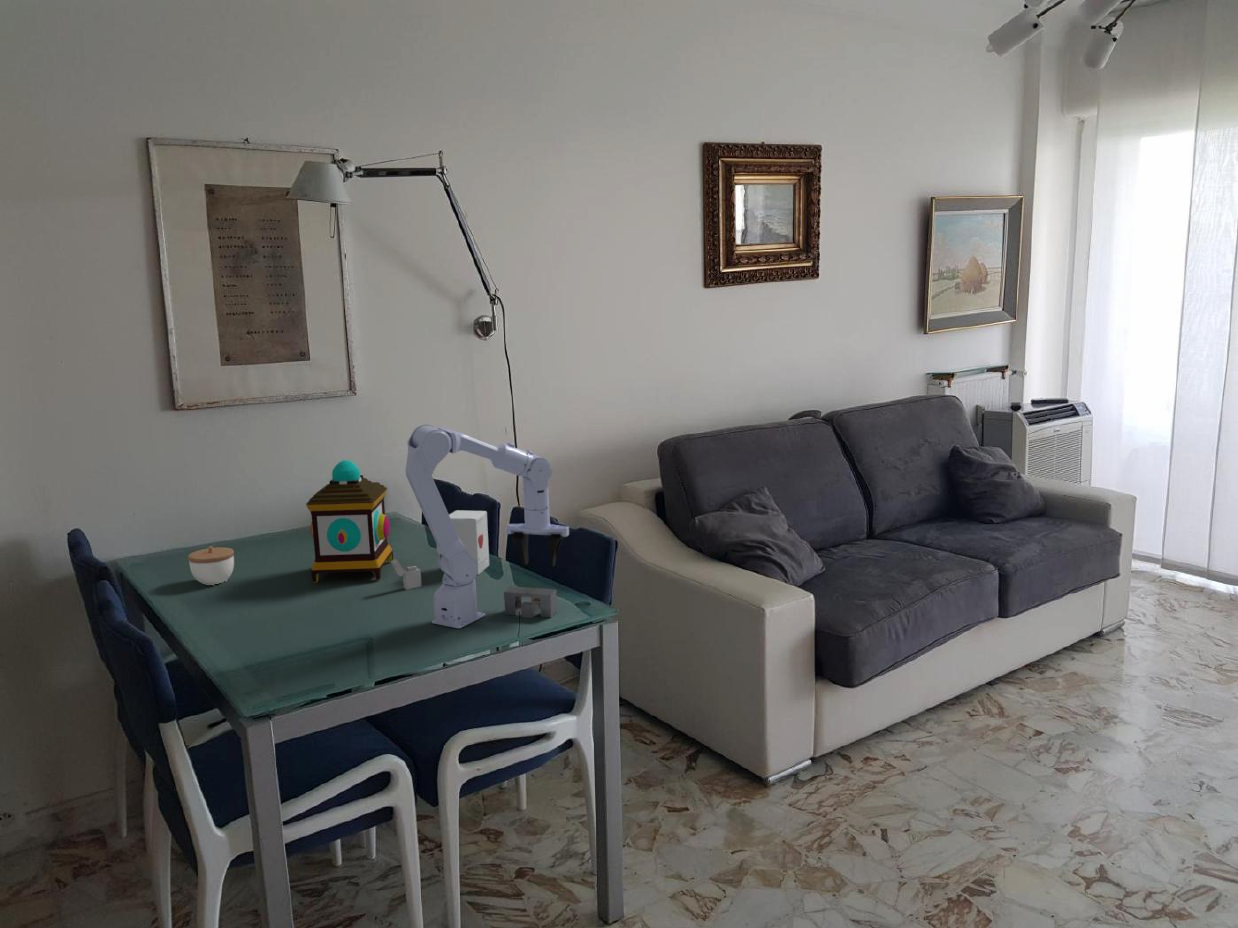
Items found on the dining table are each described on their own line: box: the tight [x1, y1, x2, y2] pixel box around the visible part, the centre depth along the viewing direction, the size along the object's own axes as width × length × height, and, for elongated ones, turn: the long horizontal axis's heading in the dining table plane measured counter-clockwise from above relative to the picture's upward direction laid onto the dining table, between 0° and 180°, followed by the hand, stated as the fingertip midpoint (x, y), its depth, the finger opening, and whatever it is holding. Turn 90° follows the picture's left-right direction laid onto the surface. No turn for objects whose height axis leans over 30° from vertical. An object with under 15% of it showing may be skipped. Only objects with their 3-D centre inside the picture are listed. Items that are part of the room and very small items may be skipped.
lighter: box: [390, 558, 422, 591], centre depth 234 cm, size 7×2×8 cm, turn 128°
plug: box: [520, 597, 540, 619], centre depth 217 cm, size 10×4×3 cm, turn 165°
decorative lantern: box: [305, 459, 394, 584], centre depth 246 cm, size 20×20×30 cm
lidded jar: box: [187, 545, 235, 586], centre depth 243 cm, size 11×11×9 cm
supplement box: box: [448, 509, 490, 576], centre depth 248 cm, size 9×9×15 cm
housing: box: [503, 586, 558, 619], centre depth 215 cm, size 4×11×5 cm, turn 75°
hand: (539, 564), depth 220 cm, fingers open, 6 cm apart
